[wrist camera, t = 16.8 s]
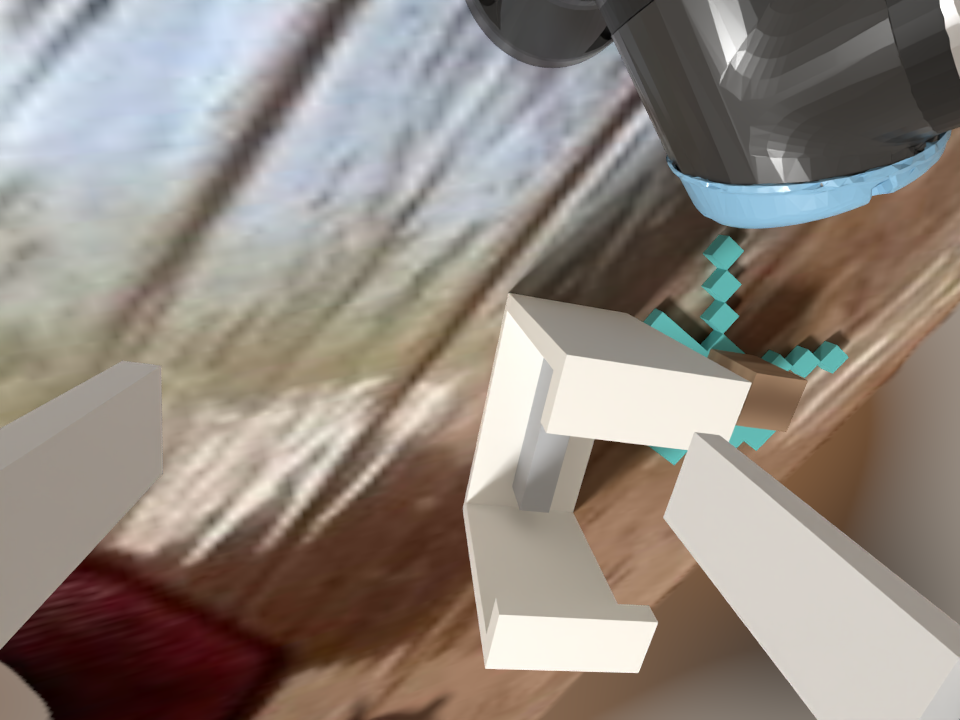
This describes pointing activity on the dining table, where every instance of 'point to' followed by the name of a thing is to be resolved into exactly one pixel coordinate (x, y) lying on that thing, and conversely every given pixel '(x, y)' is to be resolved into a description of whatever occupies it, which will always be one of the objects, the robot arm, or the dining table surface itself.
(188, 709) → the dining table surface
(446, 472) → the dining table surface
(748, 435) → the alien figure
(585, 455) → the box
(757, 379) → the walnut block
